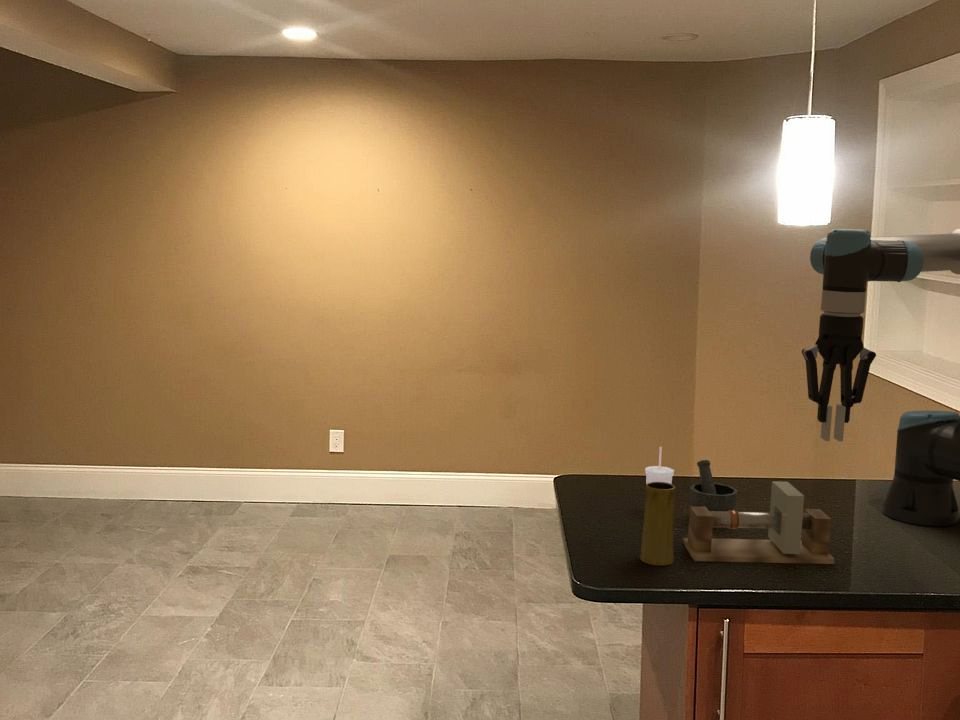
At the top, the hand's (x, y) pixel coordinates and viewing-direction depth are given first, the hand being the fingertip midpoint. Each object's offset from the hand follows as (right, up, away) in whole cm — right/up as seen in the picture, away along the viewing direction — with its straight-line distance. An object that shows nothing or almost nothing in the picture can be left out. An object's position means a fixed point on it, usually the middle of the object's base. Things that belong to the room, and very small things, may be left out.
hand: (831, 439), depth 183 cm
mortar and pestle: (-17, -19, +23) cm, 34 cm away
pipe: (-13, -17, +3) cm, 22 cm away
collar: (-8, -20, +3) cm, 22 cm away
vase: (-33, -22, -2) cm, 40 cm away
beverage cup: (-27, -18, +29) cm, 43 cm away
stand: (-13, -22, +3) cm, 26 cm away
